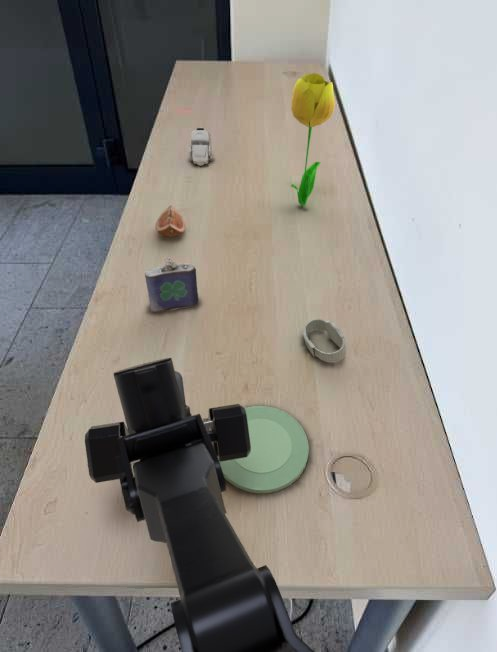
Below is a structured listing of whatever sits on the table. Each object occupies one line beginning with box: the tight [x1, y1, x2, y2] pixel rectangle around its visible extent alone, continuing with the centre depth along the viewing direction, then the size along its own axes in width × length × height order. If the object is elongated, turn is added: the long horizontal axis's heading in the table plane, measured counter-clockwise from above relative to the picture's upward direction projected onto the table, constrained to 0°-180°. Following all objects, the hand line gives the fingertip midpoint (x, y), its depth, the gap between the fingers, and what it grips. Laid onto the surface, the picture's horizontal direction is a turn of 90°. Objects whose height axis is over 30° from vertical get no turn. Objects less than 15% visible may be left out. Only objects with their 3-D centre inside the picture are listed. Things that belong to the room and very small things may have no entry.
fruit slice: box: [155, 205, 187, 237], centre depth 109 cm, size 8×7×5 cm
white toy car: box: [188, 127, 213, 167], centre depth 133 cm, size 6×7×10 cm
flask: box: [144, 257, 199, 314], centre depth 90 cm, size 9×3×11 cm, turn 105°
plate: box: [217, 405, 310, 494], centre depth 71 cm, size 14×14×1 cm
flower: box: [290, 72, 336, 209], centre depth 109 cm, size 9×8×30 cm
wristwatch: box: [302, 318, 347, 363], centre depth 84 cm, size 9×6×5 cm
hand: (170, 427), depth 66 cm, fingers open, 9 cm apart
